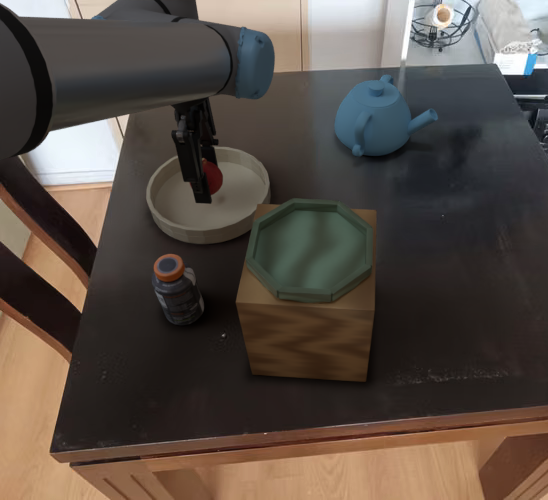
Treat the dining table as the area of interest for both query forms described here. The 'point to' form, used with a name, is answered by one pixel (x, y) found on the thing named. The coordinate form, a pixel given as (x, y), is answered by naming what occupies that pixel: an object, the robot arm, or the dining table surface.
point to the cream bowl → (225, 203)
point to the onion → (212, 176)
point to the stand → (309, 290)
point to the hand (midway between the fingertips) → (208, 188)
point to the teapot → (377, 118)
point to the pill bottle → (177, 290)
